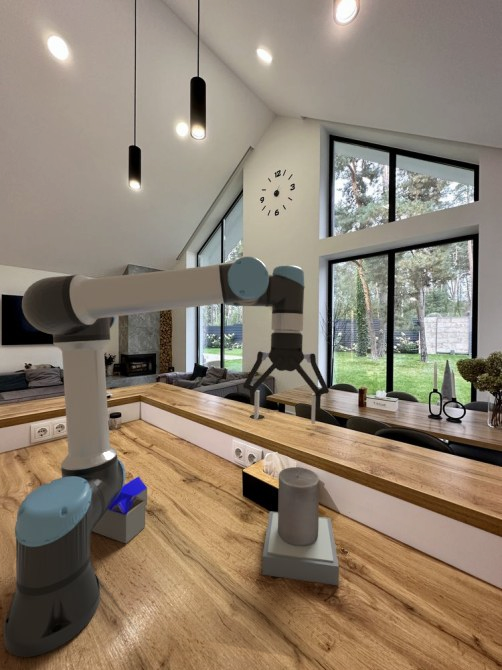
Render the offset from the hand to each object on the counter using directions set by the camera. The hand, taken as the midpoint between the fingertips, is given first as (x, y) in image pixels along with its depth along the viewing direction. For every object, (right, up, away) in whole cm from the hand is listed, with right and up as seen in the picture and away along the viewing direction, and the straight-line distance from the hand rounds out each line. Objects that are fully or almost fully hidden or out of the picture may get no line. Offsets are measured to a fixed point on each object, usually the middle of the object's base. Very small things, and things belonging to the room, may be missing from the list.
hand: (284, 420), depth 70 cm
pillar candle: (+3, -27, 0) cm, 28 cm away
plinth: (+4, -32, -1) cm, 32 cm away
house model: (-48, -31, +13) cm, 59 cm away
